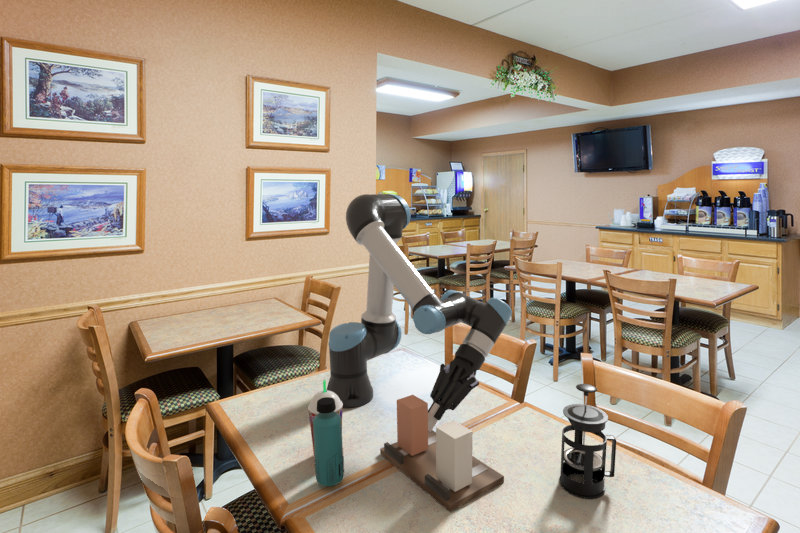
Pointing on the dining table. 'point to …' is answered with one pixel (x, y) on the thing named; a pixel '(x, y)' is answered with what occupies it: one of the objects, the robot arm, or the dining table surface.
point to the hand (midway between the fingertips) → (425, 428)
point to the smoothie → (313, 406)
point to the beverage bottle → (328, 443)
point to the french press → (585, 449)
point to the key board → (424, 474)
